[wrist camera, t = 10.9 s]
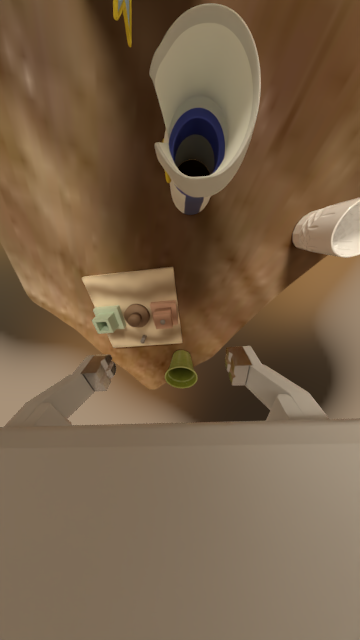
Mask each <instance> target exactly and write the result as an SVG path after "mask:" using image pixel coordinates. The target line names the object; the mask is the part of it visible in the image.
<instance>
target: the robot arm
mask: <svg viewBox="0 0 360 640" xmlns="http://www.w3.org/2000/svg"><path fill="white" fill-rule="evenodd" d="M226 354H227V355H226V357H225V365H226V369H227V371H228V372H229V378H230V381H231V384H232V385H246V387H247V388H248V389H250V391H251V392H252V393H253V394H254V395H255V396H256V397H257V398H258V399H259V400H260V401H261V402H262V403H263V404H264V405H266V407H268V409H269V410H271V411H270V413H269V415H268V417H267V419H266V421H241V422H239V421H238V422H198V423H197V422H195V423H153V424H115V425H114V424H112V425H72V424H71V422H70V421H69V420H68V419H67V418H68V417H69V416H70V415H71V414H73V413H74V411H76V410H77V409H78V408H79V407H80V406H81V405H82V404H83V403H84V402H85V401H86V400H87V399H88V398H89V397H90V396H91V395H92V394H93V393H94V391H106V390H107V389H108V387H109V385H110V383H111V380H110V379H111V378H112V377H113V376H114V375H115V372H116V365H115V363H114V362H113V361H111V360H112V357H111V355H89V356H87V357H86V358H85V359H84V360H83V362H82V363H81V364H80V366H79V367H78V368H77V369H76V370H75V372H74V373H73V374H72V375H69V376H67V377H65V378H64V379H62V380H61V381H60V382H58V383H56V384H55V385H53V386H51V387H50V388H48V389H47V390H46V391H44V392H42V393H41V394H39V395H38V396H36V397H34V398H33V399H31V400H30V401H28V402H27V403H26V404H25V405H24V406H23V407H22V408H21V409H20V410H19V411H18V412H17V413H16V414H15V415H14V417H13V418H12V419H11V420H10V421H9V422H8V423H7V424H6V425H5V426H4V427H0V640H360V418H359V419H329V418H328V416H327V415H326V414H325V413H324V411H323V410H322V409H321V408H320V406H319V405H318V404H317V403H316V401H315V400H314V399H313V398H312V396H311V395H310V394H309V393H308V392H307V391H305V390H304V389H302V388H300V387H299V386H297V385H296V384H294V383H292V382H291V381H289V380H288V379H286V378H285V377H283V376H281V375H280V374H278V373H276V372H275V371H274V370H272V369H270V368H269V367H267V366H266V365H262V364H261V362H260V361H259V359H258V357H257V356H256V354H255V352H254V351H253V349H252V348H251V347H250V346H243V347H228V348H226Z"/></svg>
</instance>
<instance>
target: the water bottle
mask: <svg viewBox="0 0 360 640" xmlns="http://www.w3.org/2000/svg"><path fill="white" fill-rule="evenodd" d="M122 12H123V16H124V22H125V29H126V35H127V42H128V45H129V47H131V43H132V0H113V17H114V19H115V20H116V21H118V19H119V17H120V15H121V13H122ZM149 75H150V77H151V78H152V80H153V84H154V87H155V90H156V93H157V97H158V100H159V104H160V107H161V111H162V115H163V119H164V123H165V127H166V131H165V136H164V139H163V142H162V143H161V142H156V143H155V151H156V155H157V158H158V161H159V162H160V164H161V165H162V167H163V168H164V170H165V177H166V181H167V183H170V190H171V196H172V200H173V202H174V204H175V206H176V207H177V208H178V210H180V211H181V212H182V213H184V214H188V215H193V214H197V213H199V212H200V211H202V210H203V209H204V208H205V206H206V205H207V203H208V202H209V199H210V197H211V196H212V195H214V194H216V193H218V192H220V191H221V190H222V189H223V188H225V187H226V186H227V185H228V183H229V182H230V181H231V180H232V178H233V177H234V176H235V174H236V172H237V171H238V169H239V167H240V165H241V163H242V161H243V159H244V156H245V154H246V151H247V148H248V146H249V143H250V140H251V137H252V133H253V130H254V126H255V122H256V118H257V114H258V108H259V101H260V90H261V76H260V64H259V58H258V53H257V49H256V45H255V42H254V39H253V37H252V34H251V32H250V30H249V28H248V27H247V25H246V23H245V22H244V20H243V19H242V18H241V17H240V16H239V15H238V14H237V13H236V12H235V11H234V10H232V9H230V8H228V7H226V6H223V5H220V4H213V3H208V4H201V5H198V6H195V7H193V8H191V9H189V10H187V11H186V12H184V13H183V14H182V15H181V16H179V17H178V18H177V19H176V20H175V22H174V23H173V24H172V25H171V27H170V28H169V30H168V31H167V33H166V35H165V36H164V38H163V40H162V42H161V43H160V45H159V47H158V48H157V50H156V52H155V53H154V56H153V59H152V62H151V66H150V71H149ZM187 160H198V161H200V162H201V163H203V164H204V165H205V166H206V168H207V169H208V171H209V173H210V175H208V176H200V177H191V176H187V175H184V174H183V173H181V172H180V171H179V169H178V166H179V165H180V164H182V163H183V162H185V161H187Z"/></svg>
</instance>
